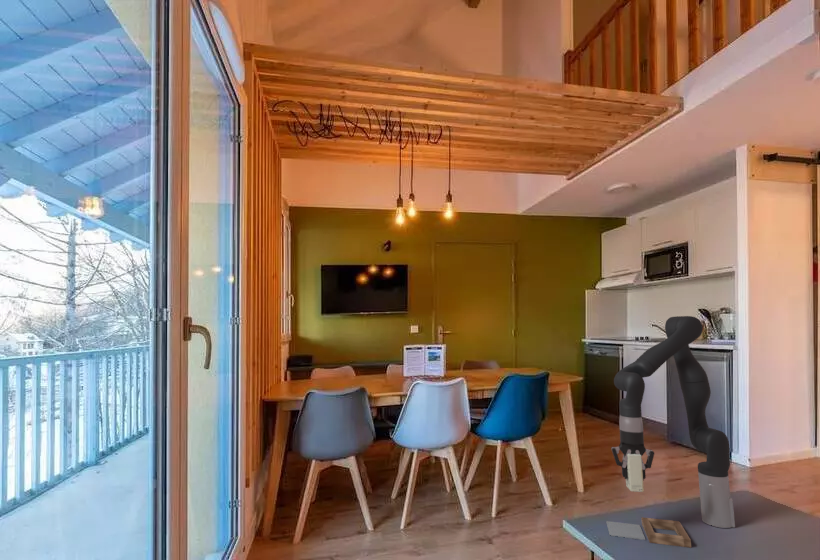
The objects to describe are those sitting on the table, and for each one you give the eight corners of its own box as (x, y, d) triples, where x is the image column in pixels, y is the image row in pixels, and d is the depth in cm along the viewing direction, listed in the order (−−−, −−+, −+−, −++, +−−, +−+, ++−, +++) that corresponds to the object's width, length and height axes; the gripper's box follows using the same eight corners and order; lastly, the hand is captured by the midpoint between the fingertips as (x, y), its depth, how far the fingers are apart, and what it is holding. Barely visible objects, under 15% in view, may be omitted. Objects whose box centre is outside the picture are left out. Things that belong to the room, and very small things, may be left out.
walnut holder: (679, 528, 155) (679, 521, 155) (691, 547, 142) (690, 539, 142) (641, 524, 159) (641, 517, 159) (649, 542, 146) (649, 534, 146)
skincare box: (644, 492, 151) (642, 455, 152) (630, 491, 152) (628, 455, 153) (638, 486, 157) (636, 450, 158) (625, 485, 158) (623, 450, 159)
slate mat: (639, 526, 158) (639, 524, 158) (645, 540, 147) (645, 538, 147) (606, 522, 161) (606, 521, 161) (609, 535, 151) (609, 534, 151)
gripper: (651, 428, 158) (654, 477, 156) (608, 425, 162) (610, 473, 160) (656, 432, 151) (659, 484, 149) (610, 429, 155) (613, 480, 153)
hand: (633, 478), depth 155 cm, fingers closed on skincare box, 4 cm apart
